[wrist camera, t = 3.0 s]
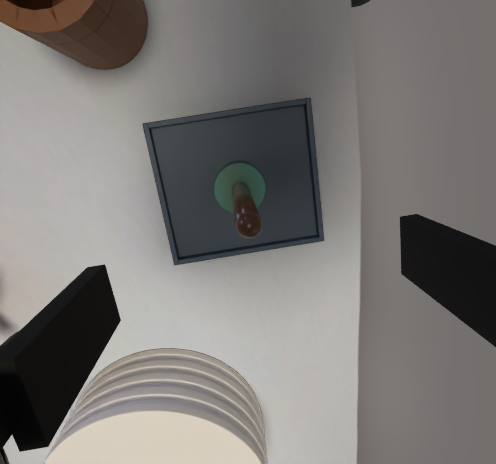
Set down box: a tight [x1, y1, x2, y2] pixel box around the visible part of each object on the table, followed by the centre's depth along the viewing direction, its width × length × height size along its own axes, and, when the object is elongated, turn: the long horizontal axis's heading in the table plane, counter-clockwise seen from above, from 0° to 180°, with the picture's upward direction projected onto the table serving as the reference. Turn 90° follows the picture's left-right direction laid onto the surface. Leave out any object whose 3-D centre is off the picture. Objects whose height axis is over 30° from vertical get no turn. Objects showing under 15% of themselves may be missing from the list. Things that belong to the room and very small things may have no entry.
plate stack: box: [43, 349, 268, 464], centre depth 46 cm, size 28×28×12 cm
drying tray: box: [143, 98, 324, 265], centre depth 42 cm, size 19×17×2 cm
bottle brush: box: [214, 161, 266, 239], centre depth 32 cm, size 6×6×21 cm
